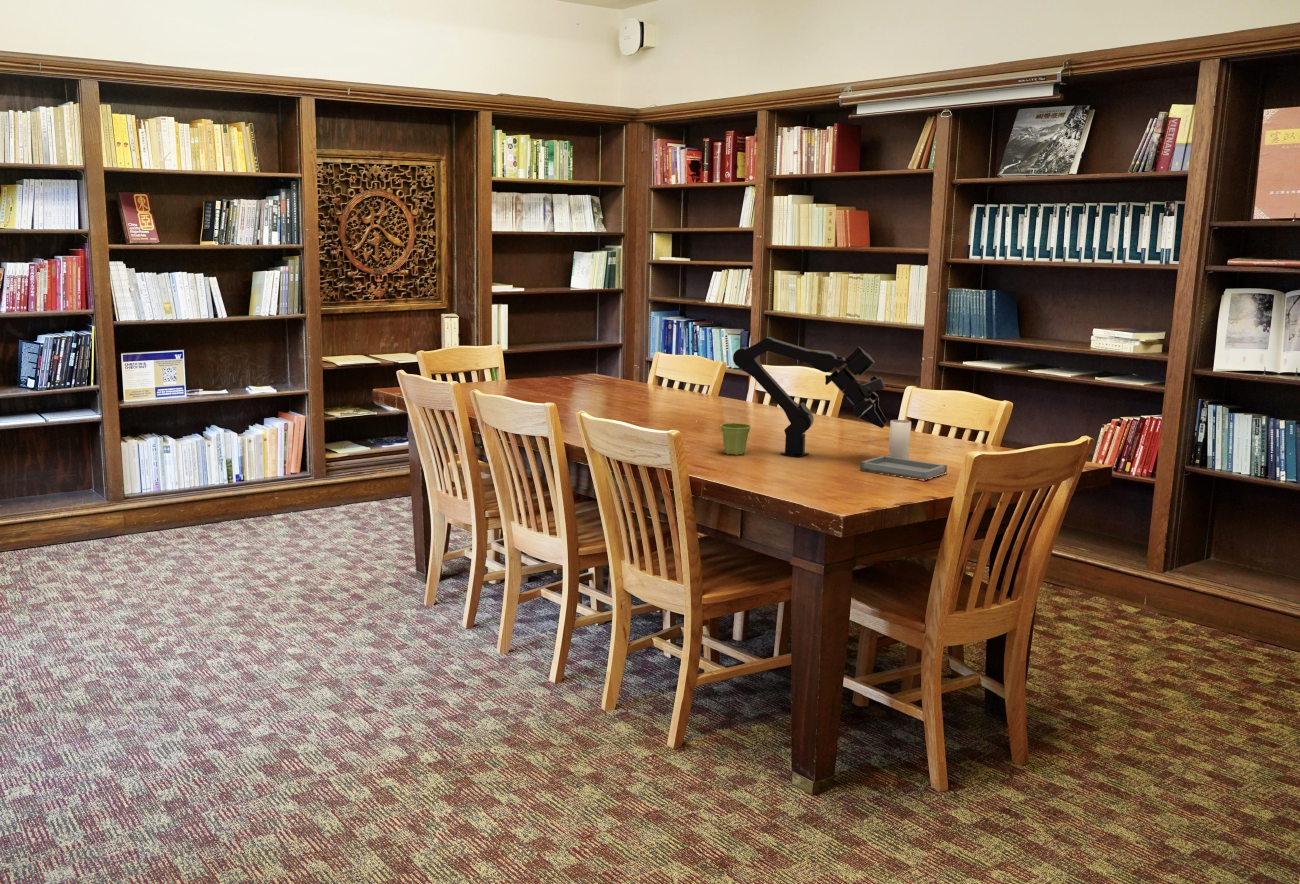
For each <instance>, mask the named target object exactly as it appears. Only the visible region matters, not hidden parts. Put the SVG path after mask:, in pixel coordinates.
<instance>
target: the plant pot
mask: <svg viewBox="0 0 1300 884" xmlns="http://www.w3.org/2000/svg"><path fill="white" fill-rule="evenodd" d="M719 428H720V429H721V430H720V431H721V433H722V439H723V450H724V454H725V453H728V454H727V455H732V454H742V455H744V454H743V453H746V448H747V441H748V438H749V437H748V436H749V433H750V429H751V428H752V426H751V425H750V424H747V423H735V422H732V423H731V422H729V423H728V422H727V423H722V424H720V425H719Z"/></svg>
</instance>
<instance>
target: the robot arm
mask: <svg viewBox="0 0 1300 884" xmlns="http://www.w3.org/2000/svg"><path fill="white" fill-rule="evenodd" d="M766 352H772V353H775V354H778V355H781V356H785V357H788V358H791V359H794V360H797V361H801V362H802V363H806V364H808V365H809V366H811V367H813V368H814V369H816V370H817V371H820V372H823V373H830V372H832V373H830V374H826V375H825V376H824V378H825V382H824V383H825V385H826V386H827V385H829V384H830V383H831V382H832V383H833V384H834V385H835V386H836V387H837V389H838V390H839V391H840V393H842V394H843V397H844V398H845V399H847V400H849V402H850V403H851V404H852V408H853V409H852V414H853V415H855V417H856V418H859V419H861V420H863V421H865V422H868V423H869V424H872V425H874V426H876V427H878V428H881V429H883V428H885V426H886V425H885V424H886V423H887V422H888V420H887V418H886V417H885V415H884V413H883V411H882V410H881V407H880V406H879V402H880V397H879V395H878V394H877V393H876V392H877V391H882V390H884V389H885V388H886V385H885V383H884V380H883V377H878V376H877V375H874V376H871V377H870V379H869V380H870V381H868V382H865V383H863V381H859V380H857V378H856V377H855V376H857V375H859V376H862V375H863V374H864V373H865V372H866V371H867V370H869V369H870V368H871V367H873V365H874V364H875V363H876V361H874V359H873V358H872V356H871V355H870V354H869V352H868V353H867V352H866V351H865V350H864V349H862V348H861V347H860V346H858V347H857V348H856V349H855V350H854V351H853V352H851V354H850V355H849V356H848V357H844V356H843V357H842V356H838V355H836V354H835V353H834V352H833V351H830V350H821V349H819V350H818V349H811V348H810V349H808V348H806V347H802V346H799V345H795V344H792V343H789V342H786V341H783V340H780V339H776V338H774V337H772V336H767V337H764V338H763V339H762V340H761V341H758V342H756V343H755V344H753V345H751V346H743V347H740V348H738V349H737V350H735V351H734V353H733V355H732V361H733V363H734V364H735V366H736V367H738V368H739V369H740V370H742V371H743V372H745V373H747V374H748V375H749V376H751V377H752V378H753V379H754V380H755V381H756V382H757V383H758V384H759V385H760V386H761V388H763V389H764V391H765V392H766V393H767V394H768V395H769V396H770V397H771V398H772V399H773V400H774V401H775V402H776V404H777V405H778V406H779V407H780V408H781V410H783V411H784V413H785V416H786V418H787V420H788V422H789V423H790V424H788V425H787V427H785V429H784V434H785V444H784V447H785V448H784V451H783V452H780V455H785V456H790V457H797V458H800V457H803V456H808V455H810V453H809V452H806V432H807V431H808V430H810V428H811V427H812V425H813V424H814V420H815V419H814V415H813V414H812V413H813V410H812V409H810V408H809V407H808V406H807V405H806V403H805V402H803V401H802V402H801V403H798V402H796V401H795V400H793V398H792V397H791V396H790V395H789V393H787V392H786V391H785V390H784V389H783V388H782V386H780V384H779V383H778V382H777V381H776V380H775V379H774V378H773V377H772V375H770V372H768V371H767V370H766V369H765V367H764V366H763V364H762V361H761V360H760V358H759V356H761V355H763V354H764V353H766ZM845 364H846V365H845ZM844 365H845V366H844ZM843 366H844V367H843ZM841 367H843V368H841ZM835 368H836V369H835ZM838 368H841V370H839V369H838ZM834 369H835V370H834ZM833 370H834V371H833Z"/></svg>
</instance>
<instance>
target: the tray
mask: <svg viewBox="0 0 1300 884" xmlns="http://www.w3.org/2000/svg"><path fill="white" fill-rule="evenodd" d="M860 470H863V471H862V472H864V471H870V472H875V473H874V474H876V473H883V474H889V475H896V476H903V477H911V478H917V479H924V480H926V479H928V478H931V477H934V476H937V475H940V474H943V473H945V472H946V473H947V470H948V465H945V464H940V463H939V464H938V463H933V462H928V461H927V462H926V461H919V460H913V459H909V460H908V459H901V458H895V457H889V456H888V455H881V456H877V457H873V458H869V459H867V460H863V461H860V464H859V471H860ZM870 472H869V473H870Z"/></svg>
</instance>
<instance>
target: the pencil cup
mask: <svg viewBox="0 0 1300 884" xmlns="http://www.w3.org/2000/svg"><path fill="white" fill-rule="evenodd" d="M911 431H912V420H911V421H910V420H905V419H892V420H890V424H889V437H888V438H889V440H888V441H889V442H888V451H887V452H888V453H887V454H888V455H887V456H889V457H895V458H901V459H908V460H910V449H911V448H910V446H911Z"/></svg>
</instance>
